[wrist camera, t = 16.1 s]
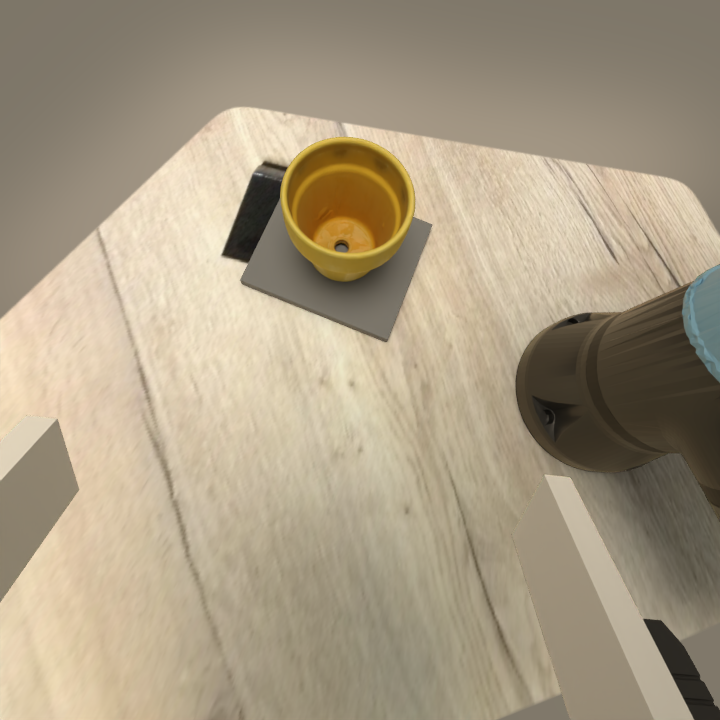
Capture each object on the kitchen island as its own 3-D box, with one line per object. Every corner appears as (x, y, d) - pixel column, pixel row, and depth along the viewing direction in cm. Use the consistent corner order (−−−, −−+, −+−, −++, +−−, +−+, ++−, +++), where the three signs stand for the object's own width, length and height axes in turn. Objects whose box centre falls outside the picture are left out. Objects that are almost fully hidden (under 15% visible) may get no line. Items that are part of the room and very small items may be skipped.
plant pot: (302, 312, 41) (297, 270, 31) (278, 214, 43) (266, 146, 33) (406, 289, 42) (432, 242, 33) (379, 195, 44) (396, 125, 35)
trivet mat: (430, 229, 45) (432, 224, 44) (386, 342, 42) (387, 339, 41) (295, 174, 45) (294, 168, 44) (242, 284, 42) (240, 280, 41)
